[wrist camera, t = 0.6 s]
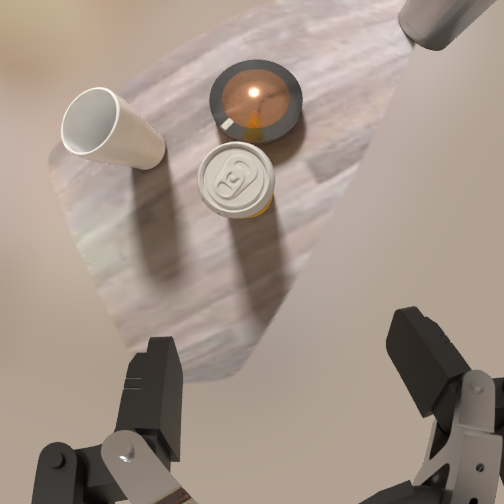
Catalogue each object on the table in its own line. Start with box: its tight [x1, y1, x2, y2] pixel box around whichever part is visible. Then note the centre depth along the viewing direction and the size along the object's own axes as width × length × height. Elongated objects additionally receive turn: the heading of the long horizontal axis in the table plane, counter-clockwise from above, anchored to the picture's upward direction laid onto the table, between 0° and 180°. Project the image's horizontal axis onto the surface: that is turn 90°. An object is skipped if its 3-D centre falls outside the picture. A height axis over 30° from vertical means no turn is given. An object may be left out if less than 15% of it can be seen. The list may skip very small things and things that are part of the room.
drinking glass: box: [61, 87, 165, 170], centre depth 30 cm, size 7×7×15 cm
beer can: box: [197, 142, 275, 218], centre depth 30 cm, size 6×6×15 cm
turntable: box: [209, 60, 303, 145], centre depth 34 cm, size 11×11×2 cm
